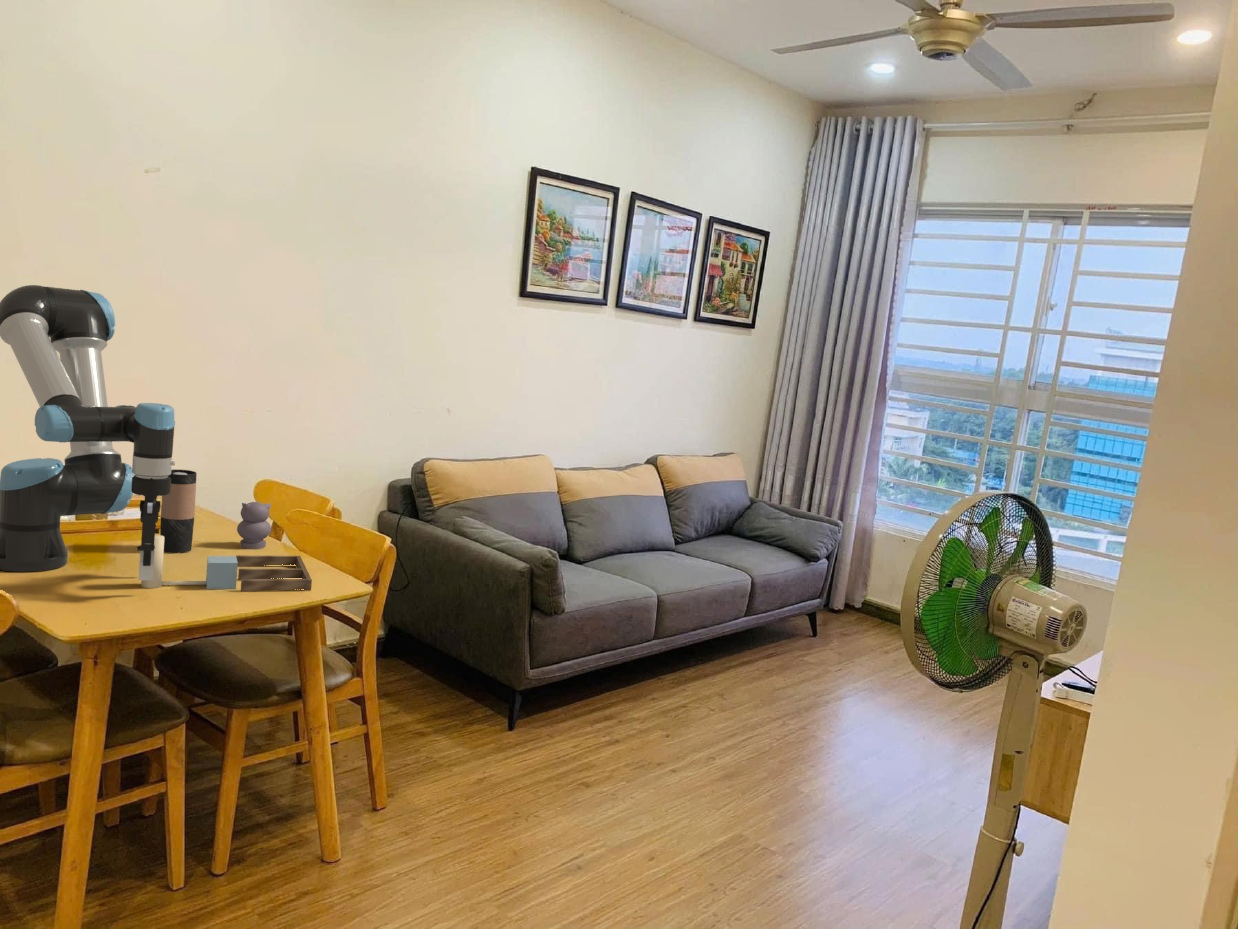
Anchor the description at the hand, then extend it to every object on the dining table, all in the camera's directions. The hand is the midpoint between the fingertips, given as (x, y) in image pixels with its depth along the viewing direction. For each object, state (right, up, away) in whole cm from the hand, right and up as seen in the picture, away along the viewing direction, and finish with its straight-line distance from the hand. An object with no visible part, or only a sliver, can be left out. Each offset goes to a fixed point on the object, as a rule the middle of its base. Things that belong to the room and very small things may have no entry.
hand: (146, 571), depth 199 cm
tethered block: (+7, -4, +4) cm, 9 cm away
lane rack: (+21, -4, +18) cm, 27 cm away
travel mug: (-9, +2, +31) cm, 33 cm away
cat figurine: (+6, +1, +44) cm, 44 cm away
